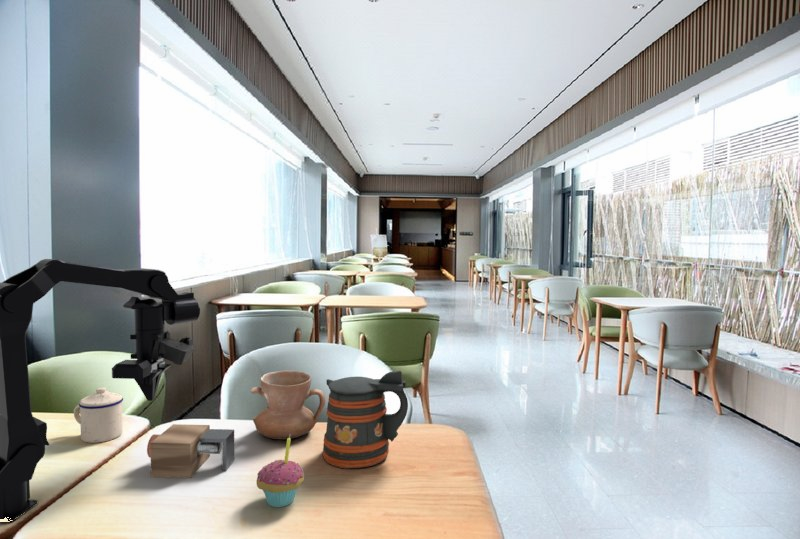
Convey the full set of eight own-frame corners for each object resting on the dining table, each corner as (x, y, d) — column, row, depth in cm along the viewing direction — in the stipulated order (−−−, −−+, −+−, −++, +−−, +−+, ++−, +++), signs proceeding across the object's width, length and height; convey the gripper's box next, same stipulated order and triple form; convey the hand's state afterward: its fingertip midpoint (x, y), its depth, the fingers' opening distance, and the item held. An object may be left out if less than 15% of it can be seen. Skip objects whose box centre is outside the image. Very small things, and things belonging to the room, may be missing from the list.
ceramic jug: (242, 444, 118) (243, 384, 117) (258, 421, 133) (258, 367, 132) (320, 446, 119) (321, 387, 118) (327, 423, 133) (328, 369, 132)
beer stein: (412, 445, 119) (413, 361, 118) (402, 474, 105) (404, 379, 104) (333, 439, 122) (334, 357, 121) (313, 466, 108) (314, 373, 107)
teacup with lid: (132, 430, 126) (131, 384, 125) (104, 445, 117) (102, 395, 116) (90, 426, 128) (89, 380, 127) (59, 440, 119) (58, 391, 118)
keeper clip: (226, 470, 105) (226, 438, 105) (199, 470, 105) (199, 438, 105) (234, 459, 110) (234, 429, 110) (209, 459, 110) (208, 429, 110)
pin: (215, 462, 105) (215, 441, 104) (147, 461, 105) (146, 439, 104) (223, 453, 109) (223, 432, 109) (158, 452, 109) (157, 431, 109)
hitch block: (190, 477, 102) (190, 443, 102) (150, 476, 102) (150, 442, 102) (209, 456, 112) (209, 425, 112) (173, 455, 112) (173, 424, 112)
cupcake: (285, 484, 100) (285, 424, 99) (314, 499, 94) (314, 436, 94) (247, 502, 93) (246, 438, 92) (275, 519, 88) (275, 451, 87)
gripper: (166, 337, 99) (167, 416, 100) (205, 321, 117) (205, 388, 118) (109, 336, 99) (111, 415, 100) (157, 320, 117) (158, 387, 118)
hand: (150, 400), depth 109 cm, fingers closed
